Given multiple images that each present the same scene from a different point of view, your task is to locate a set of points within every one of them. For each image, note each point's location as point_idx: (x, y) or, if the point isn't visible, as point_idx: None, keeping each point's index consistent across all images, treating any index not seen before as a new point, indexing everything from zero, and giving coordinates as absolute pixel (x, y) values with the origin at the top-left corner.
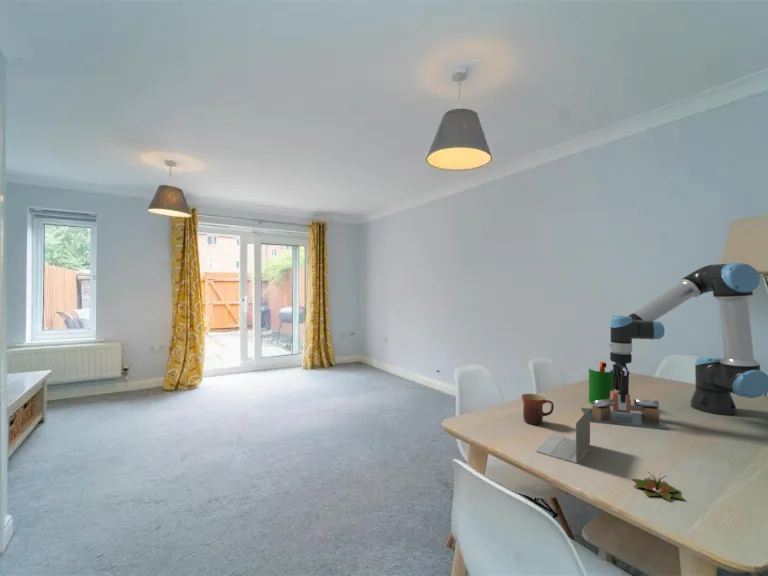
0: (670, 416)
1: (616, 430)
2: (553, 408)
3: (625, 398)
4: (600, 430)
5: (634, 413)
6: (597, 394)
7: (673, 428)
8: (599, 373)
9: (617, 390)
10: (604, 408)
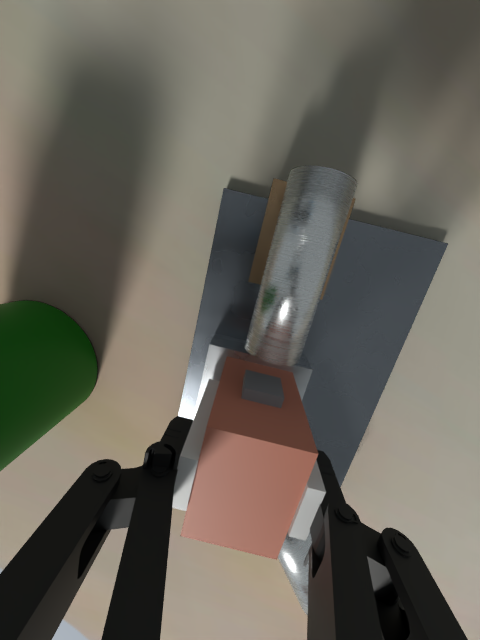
0: (211, 54)
1: (418, 480)
2: None
3: (338, 483)
4: (412, 533)
5: (217, 294)
6: (37, 439)
7: (419, 194)
8: None
9: (180, 491)
10: None
